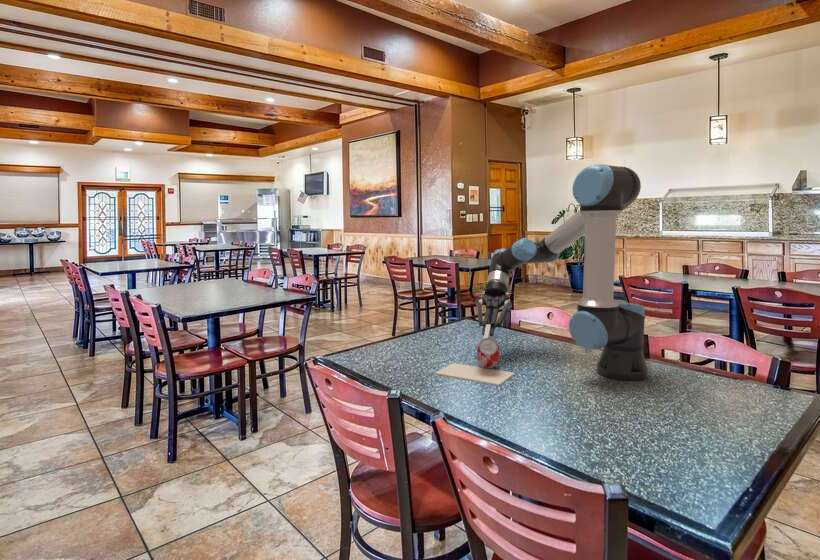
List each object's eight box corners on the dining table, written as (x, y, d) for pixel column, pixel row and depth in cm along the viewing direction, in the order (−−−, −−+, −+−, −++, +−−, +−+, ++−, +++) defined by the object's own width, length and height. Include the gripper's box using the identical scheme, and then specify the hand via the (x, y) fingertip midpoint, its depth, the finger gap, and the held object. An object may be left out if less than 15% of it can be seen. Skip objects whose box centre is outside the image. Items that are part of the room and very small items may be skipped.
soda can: (500, 368, 166) (501, 355, 156) (479, 370, 167) (478, 357, 157) (497, 348, 170) (498, 334, 160) (476, 350, 171) (475, 336, 160)
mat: (514, 374, 161) (514, 372, 161) (499, 385, 150) (499, 384, 150) (453, 364, 172) (453, 363, 172) (434, 374, 161) (434, 372, 161)
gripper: (516, 293, 179) (506, 350, 166) (480, 292, 184) (468, 347, 170) (514, 280, 174) (504, 338, 160) (477, 279, 178) (464, 335, 165)
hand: (485, 343), depth 165 cm, fingers closed
